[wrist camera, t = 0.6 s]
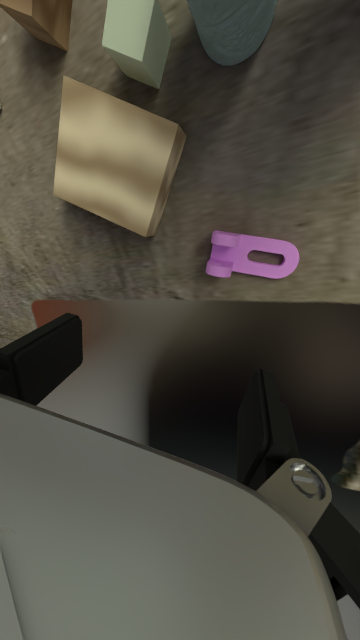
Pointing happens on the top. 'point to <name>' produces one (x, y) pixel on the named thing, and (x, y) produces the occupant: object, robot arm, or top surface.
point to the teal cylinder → (232, 27)
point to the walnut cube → (43, 19)
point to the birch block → (115, 158)
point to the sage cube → (137, 39)
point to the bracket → (234, 251)
